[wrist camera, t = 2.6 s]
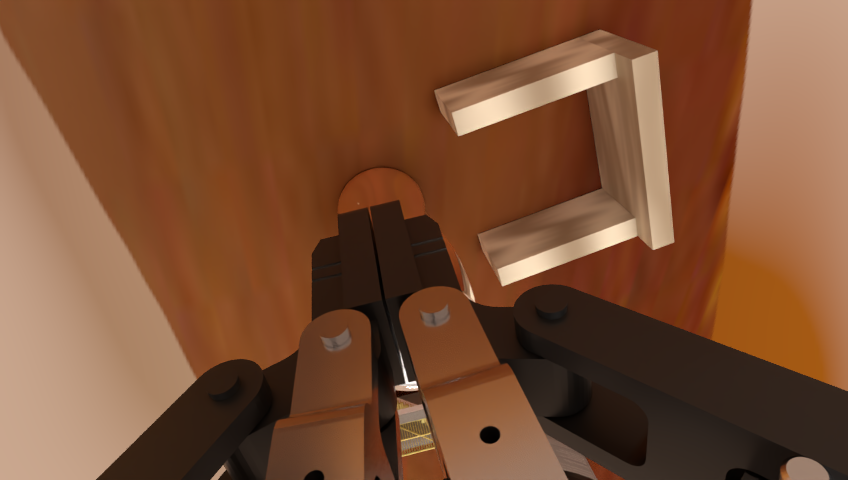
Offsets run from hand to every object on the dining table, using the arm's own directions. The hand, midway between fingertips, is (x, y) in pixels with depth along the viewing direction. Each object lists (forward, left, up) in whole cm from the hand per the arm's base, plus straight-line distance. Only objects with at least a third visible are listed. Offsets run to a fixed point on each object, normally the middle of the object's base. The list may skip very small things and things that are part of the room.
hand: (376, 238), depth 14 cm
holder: (+13, -8, -24) cm, 29 cm away
